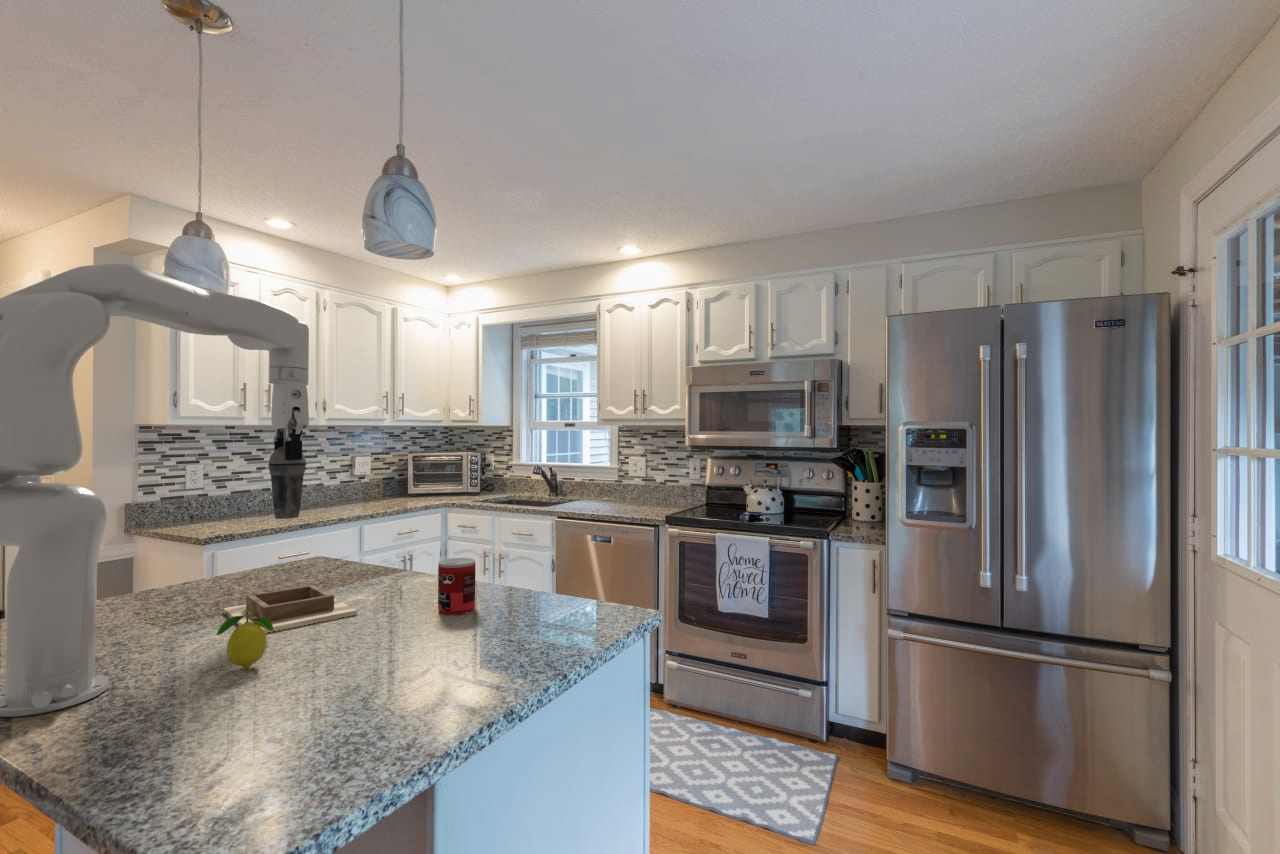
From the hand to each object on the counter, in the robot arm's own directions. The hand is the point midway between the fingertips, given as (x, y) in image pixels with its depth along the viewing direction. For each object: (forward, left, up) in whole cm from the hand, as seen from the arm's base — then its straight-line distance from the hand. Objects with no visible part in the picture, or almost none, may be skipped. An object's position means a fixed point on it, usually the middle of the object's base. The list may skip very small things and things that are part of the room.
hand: (287, 458), depth 131 cm
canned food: (-23, -28, -34) cm, 50 cm away
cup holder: (0, -1, -34) cm, 34 cm away
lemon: (-29, +14, -34) cm, 47 cm away
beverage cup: (0, 0, -13) cm, 13 cm away
